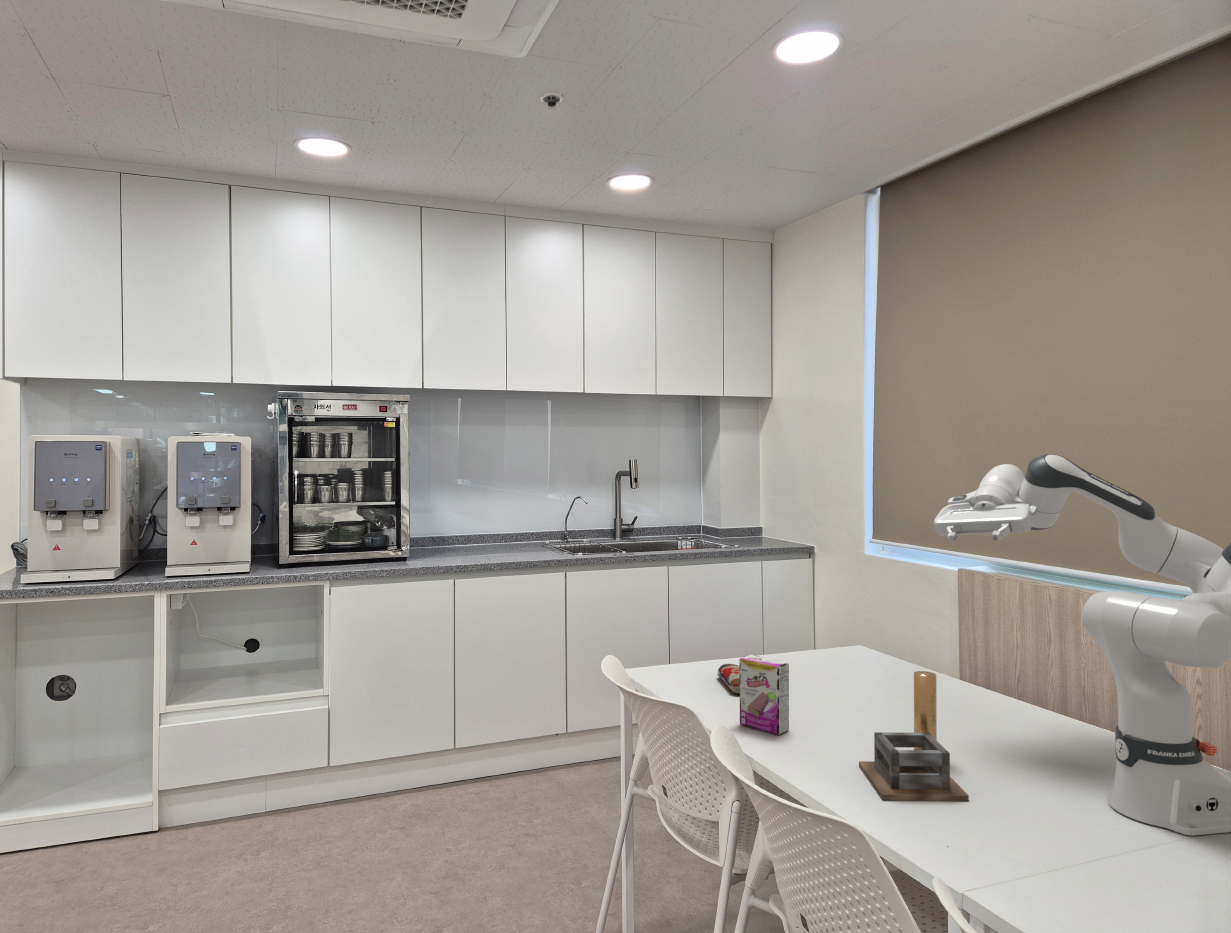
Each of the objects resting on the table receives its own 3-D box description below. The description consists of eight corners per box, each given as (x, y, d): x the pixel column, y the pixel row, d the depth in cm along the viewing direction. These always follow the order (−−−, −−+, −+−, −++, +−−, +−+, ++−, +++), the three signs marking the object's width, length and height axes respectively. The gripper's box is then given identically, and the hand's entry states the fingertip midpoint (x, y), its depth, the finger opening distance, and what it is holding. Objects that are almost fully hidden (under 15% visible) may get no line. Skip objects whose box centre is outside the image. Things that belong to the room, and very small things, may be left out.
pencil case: (716, 696, 209) (716, 678, 209) (717, 676, 229) (717, 659, 229) (758, 698, 208) (758, 679, 208) (755, 677, 227) (755, 660, 227)
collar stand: (936, 766, 160) (936, 728, 160) (968, 800, 144) (968, 758, 144) (858, 766, 161) (858, 728, 161) (882, 800, 145) (882, 757, 145)
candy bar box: (738, 725, 186) (738, 657, 186) (750, 720, 190) (749, 653, 190) (779, 736, 179) (778, 666, 178) (790, 730, 182) (789, 661, 182)
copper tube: (932, 753, 168) (931, 671, 167) (939, 761, 163) (939, 677, 163) (911, 753, 168) (910, 671, 168) (918, 761, 163) (918, 676, 163)
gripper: (1042, 517, 171) (1028, 550, 162) (949, 521, 185) (931, 552, 176) (1035, 492, 169) (1020, 524, 160) (942, 498, 184) (923, 528, 175)
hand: (973, 539), depth 168 cm, fingers open, 8 cm apart
